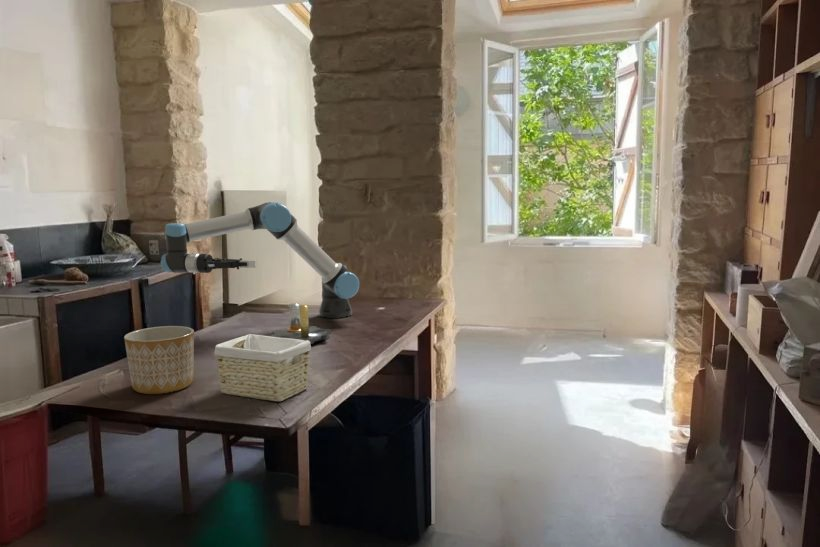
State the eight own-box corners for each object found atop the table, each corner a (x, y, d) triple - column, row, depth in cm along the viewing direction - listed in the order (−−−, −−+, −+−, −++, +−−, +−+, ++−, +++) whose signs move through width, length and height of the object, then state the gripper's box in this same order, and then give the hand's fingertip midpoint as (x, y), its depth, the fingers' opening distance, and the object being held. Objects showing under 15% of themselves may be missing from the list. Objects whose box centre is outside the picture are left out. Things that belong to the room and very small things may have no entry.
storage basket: (214, 394, 180) (211, 344, 178) (251, 378, 195) (249, 332, 193) (280, 405, 170) (278, 353, 168) (314, 388, 184) (313, 339, 182)
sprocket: (288, 329, 256) (287, 296, 254) (340, 332, 249) (339, 298, 247) (258, 342, 234) (256, 306, 232) (314, 346, 227) (313, 309, 225)
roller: (293, 327, 249) (292, 303, 248) (302, 328, 248) (301, 303, 247) (288, 329, 246) (287, 304, 244) (297, 330, 244) (296, 305, 243)
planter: (195, 393, 181) (192, 337, 179) (123, 400, 176) (119, 343, 174) (198, 374, 200) (195, 324, 197) (133, 380, 194) (129, 328, 192)
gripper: (209, 270, 251) (263, 271, 247) (191, 275, 239) (249, 276, 234) (208, 252, 250) (262, 252, 246) (190, 255, 238) (248, 256, 233)
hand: (256, 264), depth 240 cm, fingers closed
